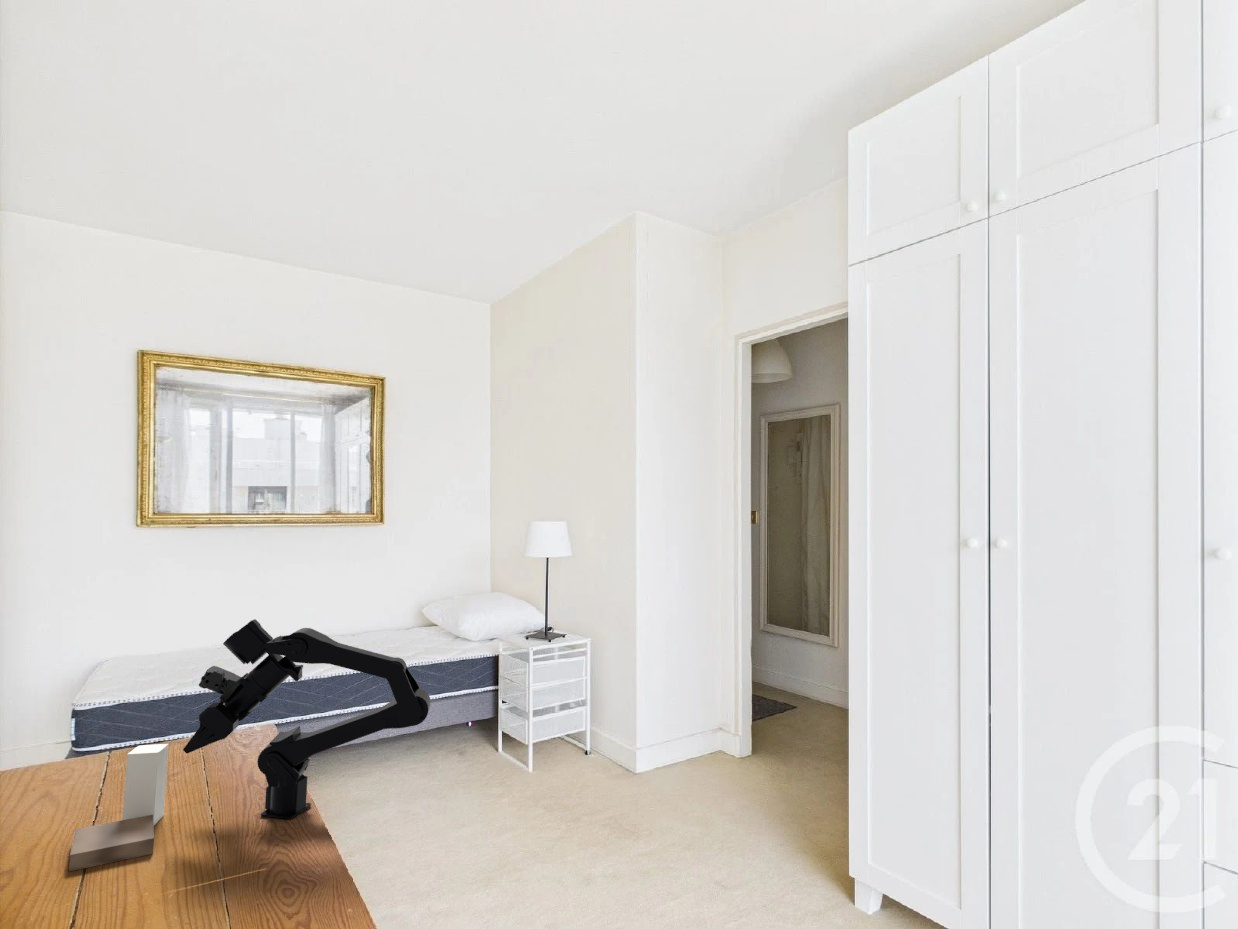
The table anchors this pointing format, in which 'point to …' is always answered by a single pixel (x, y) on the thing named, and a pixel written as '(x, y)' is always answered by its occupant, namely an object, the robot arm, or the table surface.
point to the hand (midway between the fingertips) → (193, 743)
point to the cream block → (146, 782)
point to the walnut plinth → (112, 842)
